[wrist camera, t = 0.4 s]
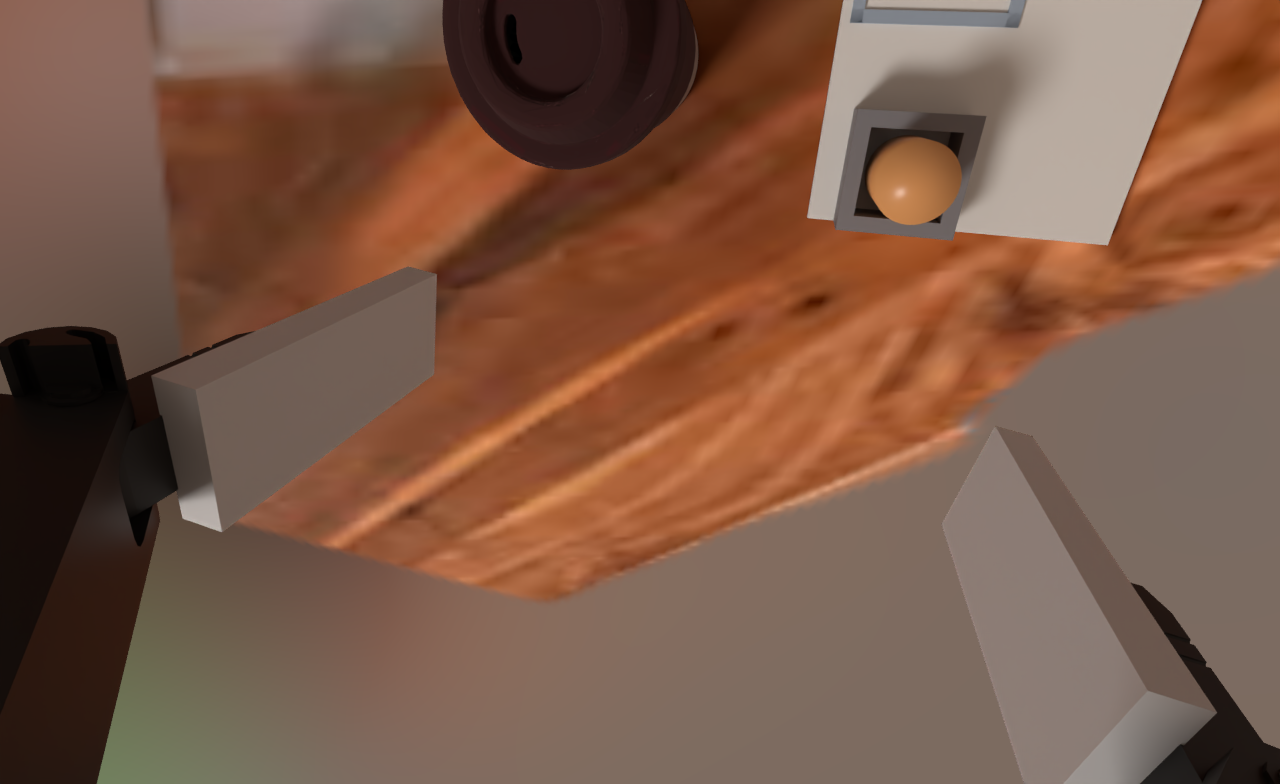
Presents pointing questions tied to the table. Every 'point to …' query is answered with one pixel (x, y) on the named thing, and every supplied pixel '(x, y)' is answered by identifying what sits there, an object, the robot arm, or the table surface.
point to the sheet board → (1000, 108)
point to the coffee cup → (570, 72)
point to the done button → (913, 179)
